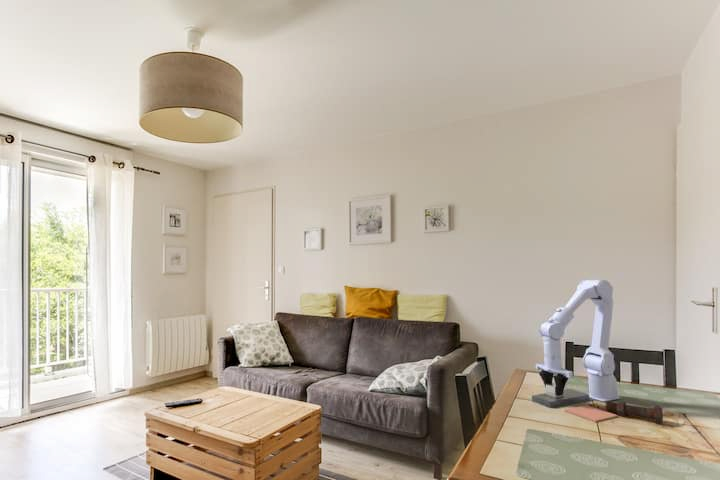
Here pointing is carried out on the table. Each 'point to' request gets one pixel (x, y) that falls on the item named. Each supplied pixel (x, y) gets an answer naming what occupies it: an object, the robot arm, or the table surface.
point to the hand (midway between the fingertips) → (554, 393)
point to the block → (568, 398)
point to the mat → (591, 413)
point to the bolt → (636, 411)
